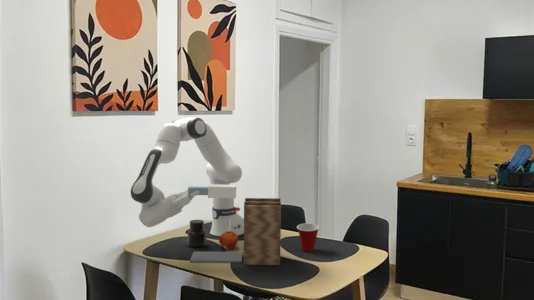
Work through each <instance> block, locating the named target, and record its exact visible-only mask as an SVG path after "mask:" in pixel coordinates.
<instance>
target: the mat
mask: <svg viewBox="0 0 534 300" xmlns="http://www.w3.org/2000/svg"><path fill="white" fill-rule="evenodd" d="M243 258H244V251H197V250H196V251H193V252H192V254H191V257H190V259H189V263H221V264H222V263H228V264H229V263H231V264H232V263H237V264H240V263H241V264H242V262H243Z"/></svg>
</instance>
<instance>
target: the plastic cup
mask: <svg viewBox="0 0 534 300" xmlns="http://www.w3.org/2000/svg"><path fill="white" fill-rule="evenodd" d="M296 229H297V231H298V235H299V243H300V247H301V251H302V252H304V253H305V252H306V253H312V252H314V250H315V245H316V243H317V236H318V231H319V229H320V226H319V224H317V223H316V224H315V223H311V222H310V223H309V222H308V223H300V224H298V225H297V226H296Z"/></svg>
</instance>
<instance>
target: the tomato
mask: <svg viewBox="0 0 534 300" xmlns="http://www.w3.org/2000/svg"><path fill="white" fill-rule="evenodd" d="M238 242H239V235H237V234H236V233H233V232H231V231H229V232H225V233H223V234H222V235H221V236H219V244H220V246H221V247H222V248H224V249H227V250H229V249H234V248H236V247H237V245H238Z"/></svg>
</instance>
